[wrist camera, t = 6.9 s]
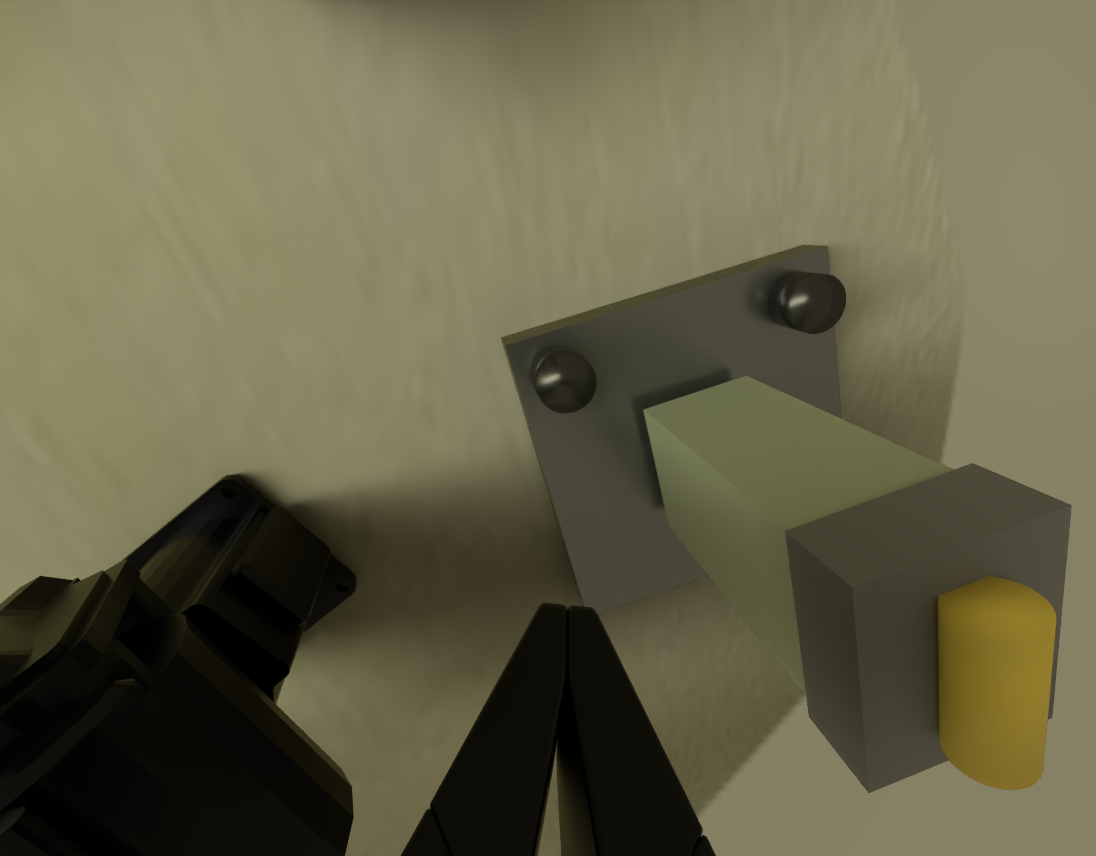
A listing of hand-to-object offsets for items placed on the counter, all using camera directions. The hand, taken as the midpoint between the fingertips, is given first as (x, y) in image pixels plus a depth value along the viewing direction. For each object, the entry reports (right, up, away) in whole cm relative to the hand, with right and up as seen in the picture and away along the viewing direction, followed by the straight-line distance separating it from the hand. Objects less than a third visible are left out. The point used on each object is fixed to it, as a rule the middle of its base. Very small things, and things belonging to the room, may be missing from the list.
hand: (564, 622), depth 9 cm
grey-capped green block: (+6, +2, +12) cm, 14 cm away
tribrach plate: (+5, +3, +14) cm, 16 cm away
